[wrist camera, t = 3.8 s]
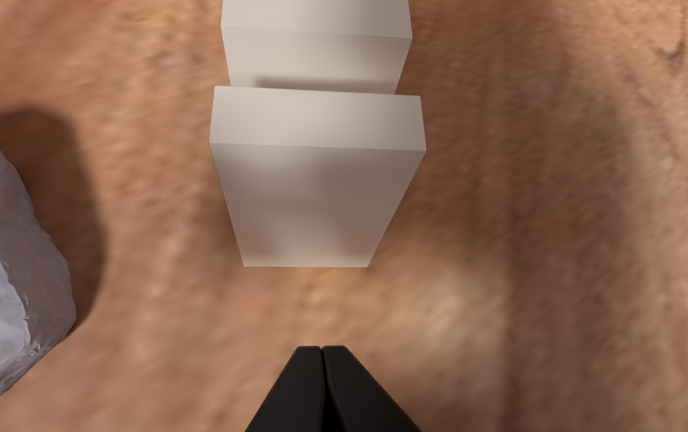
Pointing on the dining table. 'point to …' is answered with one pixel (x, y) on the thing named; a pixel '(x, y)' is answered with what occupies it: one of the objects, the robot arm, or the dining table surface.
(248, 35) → the domino
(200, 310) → the dining table surface
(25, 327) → the stone block
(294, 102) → the domino
